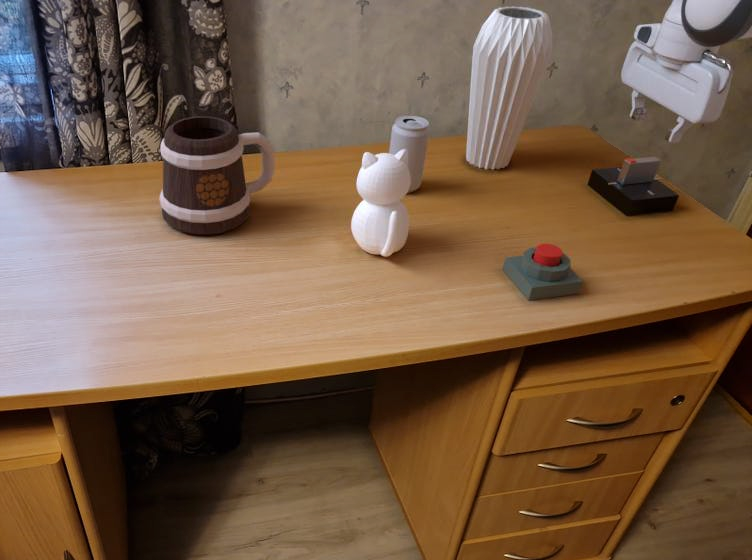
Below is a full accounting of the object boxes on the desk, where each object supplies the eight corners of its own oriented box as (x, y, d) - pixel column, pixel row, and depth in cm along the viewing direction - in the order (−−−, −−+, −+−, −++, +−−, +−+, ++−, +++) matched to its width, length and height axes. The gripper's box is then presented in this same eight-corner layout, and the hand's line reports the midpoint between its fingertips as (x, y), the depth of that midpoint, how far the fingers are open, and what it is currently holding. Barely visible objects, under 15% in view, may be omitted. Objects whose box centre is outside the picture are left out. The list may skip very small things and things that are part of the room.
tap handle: (647, 178, 119) (656, 155, 117) (652, 182, 118) (662, 159, 115) (616, 181, 118) (625, 158, 116) (622, 185, 117) (630, 162, 114)
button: (564, 265, 97) (567, 255, 95) (541, 268, 96) (544, 258, 95) (551, 252, 99) (554, 242, 98) (528, 255, 99) (531, 244, 97)
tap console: (675, 210, 117) (683, 194, 115) (623, 216, 115) (629, 199, 113) (633, 180, 126) (639, 163, 123) (584, 184, 124) (589, 168, 122)
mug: (176, 245, 107) (167, 154, 97) (150, 203, 117) (140, 117, 107) (291, 222, 113) (294, 134, 103) (257, 183, 123) (257, 100, 113)
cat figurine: (392, 224, 112) (405, 136, 103) (421, 265, 103) (437, 172, 93) (340, 230, 111) (348, 141, 101) (364, 271, 102) (375, 178, 92)
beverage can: (407, 175, 126) (416, 111, 118) (427, 190, 122) (438, 124, 114) (378, 182, 124) (385, 117, 116) (397, 197, 120) (407, 131, 112)
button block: (578, 293, 98) (587, 270, 95) (528, 300, 96) (535, 276, 94) (550, 264, 104) (557, 241, 101) (502, 270, 102) (508, 247, 100)
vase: (437, 158, 132) (463, 10, 115) (481, 141, 138) (512, -2, 121) (493, 182, 124) (529, 28, 107) (536, 163, 130) (578, 14, 113)
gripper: (755, 61, 96) (713, 154, 105) (664, 22, 111) (633, 106, 120) (717, 64, 95) (677, 157, 104) (629, 23, 110) (601, 108, 119)
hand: (653, 129), depth 112 cm, fingers open, 8 cm apart
